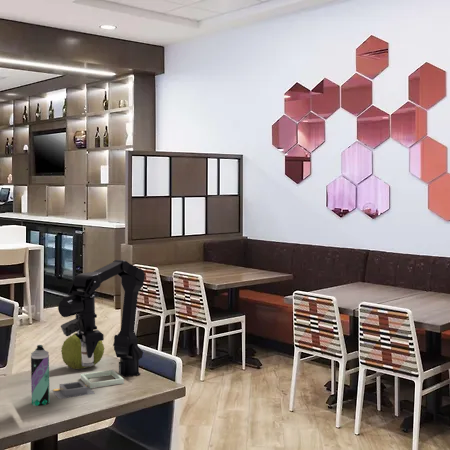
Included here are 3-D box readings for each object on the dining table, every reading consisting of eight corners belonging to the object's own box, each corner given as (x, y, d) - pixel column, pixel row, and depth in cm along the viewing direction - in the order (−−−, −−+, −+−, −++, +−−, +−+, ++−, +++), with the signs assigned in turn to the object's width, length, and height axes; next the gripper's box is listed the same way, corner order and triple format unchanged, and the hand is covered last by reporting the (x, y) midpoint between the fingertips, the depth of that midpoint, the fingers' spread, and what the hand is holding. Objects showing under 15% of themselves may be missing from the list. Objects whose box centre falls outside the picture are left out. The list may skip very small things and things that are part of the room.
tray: (113, 378, 238) (112, 369, 238) (123, 387, 228) (123, 378, 228) (80, 382, 233) (80, 374, 233) (90, 392, 222) (90, 383, 222)
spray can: (31, 405, 209) (30, 344, 208) (48, 403, 211) (47, 342, 210) (32, 411, 204) (31, 348, 203) (50, 409, 206) (49, 346, 205)
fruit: (79, 359, 262) (97, 327, 262) (98, 379, 254) (117, 346, 253) (47, 355, 250) (66, 321, 249) (67, 376, 241) (87, 340, 240)
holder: (86, 389, 226) (86, 379, 225) (95, 397, 217) (95, 387, 217) (51, 394, 220) (51, 384, 220) (58, 403, 211) (58, 392, 211)
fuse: (91, 362, 227) (91, 339, 226) (95, 365, 223) (94, 342, 222) (80, 364, 225) (79, 341, 224) (83, 367, 221) (82, 344, 220)
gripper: (55, 308, 227) (57, 352, 228) (69, 319, 210) (71, 367, 212) (87, 305, 232) (88, 348, 233) (103, 315, 215) (104, 362, 217)
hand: (87, 356), depth 224 cm, fingers closed on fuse, 4 cm apart
